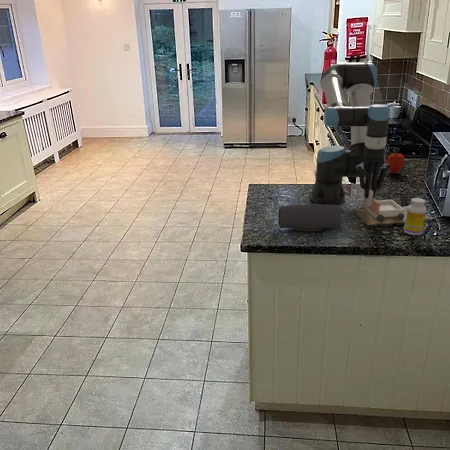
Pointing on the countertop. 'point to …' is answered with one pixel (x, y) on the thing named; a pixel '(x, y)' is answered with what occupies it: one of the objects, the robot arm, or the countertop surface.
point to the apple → (395, 162)
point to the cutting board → (371, 220)
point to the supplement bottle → (415, 217)
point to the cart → (385, 209)
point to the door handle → (388, 156)
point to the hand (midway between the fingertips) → (368, 205)
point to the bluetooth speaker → (309, 217)
